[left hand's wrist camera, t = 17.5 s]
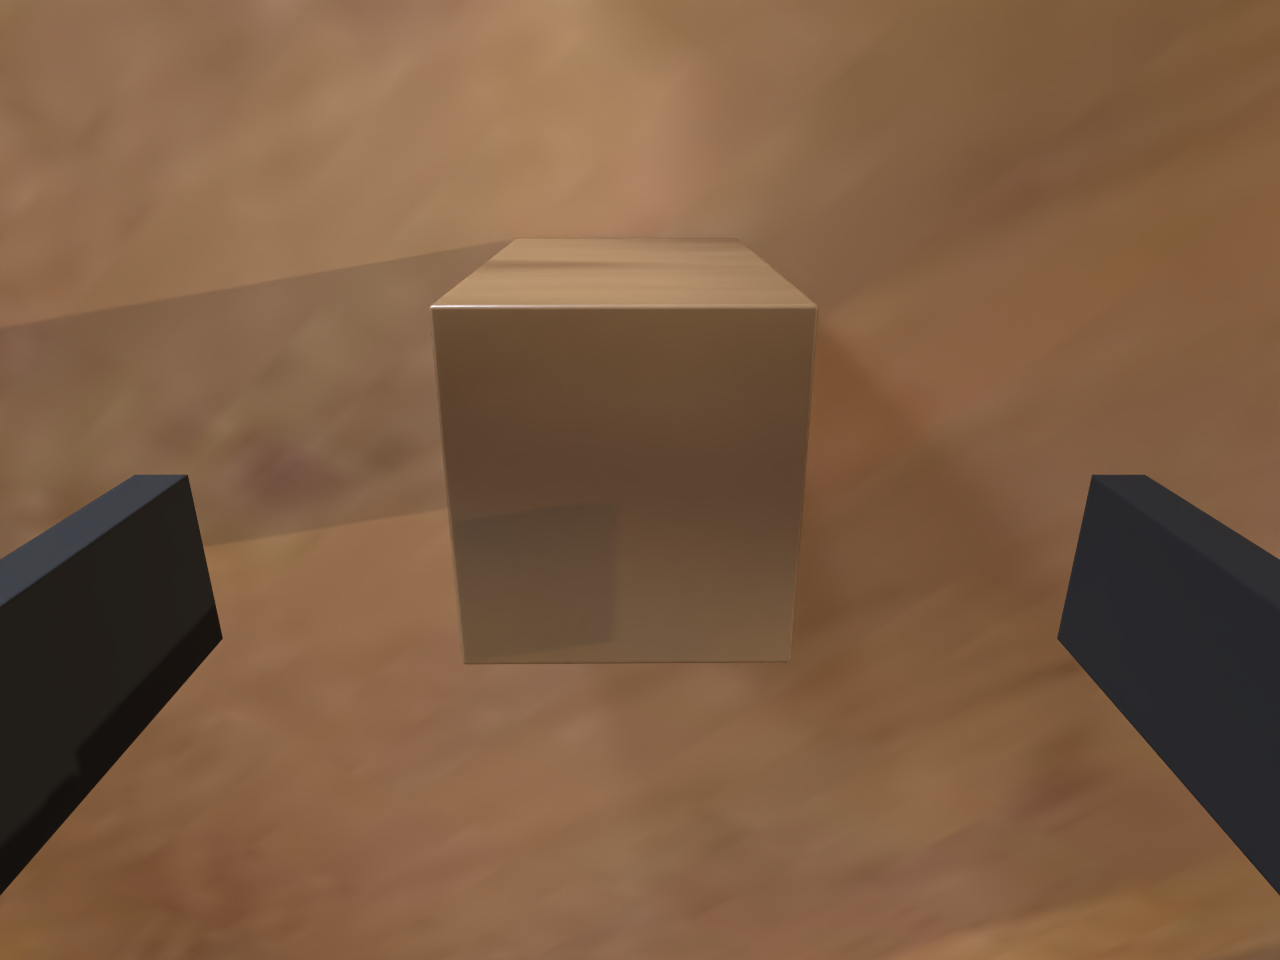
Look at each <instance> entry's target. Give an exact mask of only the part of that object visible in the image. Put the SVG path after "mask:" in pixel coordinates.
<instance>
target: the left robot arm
mask: <svg viewBox="0 0 1280 960" xmlns="http://www.w3.org/2000/svg"><path fill="white" fill-rule="evenodd" d="M222 639H223V638H222V633H221V628H220V624H219V619H218V614H217V610H216V605H215V600H214V596H213V591H212V586H211V581H210V577H209V572H208V567H207V563H206V558H205V553H204V549H203V544H202V539H201V535H200V530H199V525H198V521H197V516H196V511H195V506H194V502H193V497H192V492H191V488H190V483H189V478H188V475H134V476H132V477H131V478H129V479H128V480H126V481H125V482H123V483H121V484H120V485H118V486H117V487H115V488H113V489H112V490H110V491H109V492H107V493H105V494H104V495H102V496H101V497H99V498H98V499H96V500H94V501H93V502H91V503H90V504H88V505H86V506H85V507H83V508H82V509H80V510H78V511H77V512H75V513H74V514H72V515H71V516H69V517H67V518H66V519H64V520H63V521H61V522H59V523H58V524H56V525H55V526H53V527H51V528H50V529H48V530H47V531H45V532H44V533H42V534H40V535H39V536H37V537H36V538H34V539H32V540H31V541H29V542H28V543H26V544H24V545H23V546H21V547H20V548H18V549H17V550H15V551H13V552H12V553H10V554H9V555H7V556H5V557H4V558H2V559H1V560H0V895H1V894H2V893H3V892H4V890H5V889H6V888H7V887H8V886H9V885H10V884H11V882H12V881H13V880H14V879H15V878H16V877H17V875H18V874H19V873H20V872H21V871H22V870H23V869H24V867H25V866H26V865H27V864H28V863H29V862H30V860H31V859H32V858H33V857H34V856H35V855H36V854H37V852H38V851H39V850H40V849H41V848H42V847H43V845H44V844H45V843H46V842H47V841H48V840H49V839H50V837H51V836H52V835H53V834H54V833H55V832H56V830H57V829H58V828H59V827H60V826H61V825H62V824H63V822H64V821H65V820H66V819H67V818H68V817H69V815H70V814H71V813H72V812H73V811H74V810H75V808H76V807H77V806H78V805H79V804H80V803H81V802H82V800H83V799H84V798H85V797H86V796H87V795H88V793H89V792H90V791H91V790H92V789H93V788H94V787H95V785H96V784H97V783H98V782H99V781H100V780H101V778H102V777H103V776H104V775H105V774H106V773H107V772H108V770H109V769H110V768H111V767H112V766H113V765H114V763H115V762H116V761H117V760H118V759H119V758H120V757H121V755H122V754H123V753H124V752H125V751H126V750H127V748H128V747H129V746H130V745H131V744H132V743H133V742H134V740H135V739H136V738H137V737H138V736H139V735H140V733H141V732H142V731H143V730H144V729H145V728H146V727H147V725H148V724H149V723H150V722H151V721H152V720H153V718H154V717H155V716H156V715H157V714H158V713H159V712H160V710H161V709H162V708H163V707H164V706H165V705H166V703H167V702H168V701H169V700H170V699H171V698H172V697H173V695H174V694H175V693H176V692H177V691H178V690H179V688H180V687H181V686H182V685H183V684H184V683H185V682H186V680H187V679H188V678H189V677H190V676H191V675H192V673H193V672H194V671H195V670H196V669H197V668H198V667H199V665H200V664H201V663H202V662H203V661H204V660H205V658H206V657H207V656H208V655H209V654H210V653H211V651H212V650H213V649H214V648H215V647H216V646H217V645H218V643H219V642H220V641H221V640H222ZM1057 639H1058V640H1059V641H1060V642H1061V643H1062V645H1063V646H1064V647H1065V648H1066V649H1067V650H1068V651H1069V653H1070V654H1071V655H1072V656H1073V657H1074V658H1075V660H1076V661H1077V662H1078V663H1079V664H1080V665H1081V667H1082V668H1083V669H1084V670H1085V671H1086V672H1087V673H1088V675H1089V676H1090V677H1091V678H1092V679H1093V680H1094V682H1095V683H1096V684H1097V685H1098V686H1099V687H1100V688H1101V690H1102V691H1103V692H1104V693H1105V694H1106V695H1107V697H1108V698H1109V699H1110V700H1111V701H1112V702H1113V703H1114V705H1115V706H1116V707H1117V708H1118V709H1119V710H1120V712H1121V713H1122V714H1123V715H1124V716H1125V717H1126V718H1127V720H1128V721H1129V722H1130V723H1131V724H1132V725H1133V727H1134V728H1135V729H1136V730H1137V731H1138V732H1139V733H1140V735H1141V736H1142V737H1143V738H1144V739H1145V740H1146V742H1147V743H1148V744H1149V745H1150V746H1151V747H1152V748H1153V750H1154V751H1155V752H1156V753H1157V754H1158V755H1159V757H1160V758H1161V759H1162V760H1163V761H1164V762H1165V763H1166V765H1167V766H1168V767H1169V768H1170V769H1171V770H1172V772H1173V773H1174V774H1175V775H1176V776H1177V777H1178V778H1179V780H1180V781H1181V782H1182V783H1183V784H1184V785H1185V787H1186V788H1187V789H1188V790H1189V791H1190V792H1191V793H1192V795H1193V796H1194V797H1195V798H1196V799H1197V800H1198V802H1199V803H1200V804H1201V805H1202V806H1203V807H1204V808H1205V810H1206V811H1207V812H1208V813H1209V814H1210V815H1211V817H1212V818H1213V819H1214V820H1215V821H1216V822H1217V824H1218V825H1219V826H1220V827H1221V828H1222V829H1223V830H1224V832H1225V833H1226V834H1227V835H1228V836H1229V837H1230V839H1231V840H1232V841H1233V842H1234V843H1235V844H1236V845H1237V847H1238V848H1239V849H1240V850H1241V851H1242V852H1243V854H1244V855H1245V856H1246V857H1247V858H1248V859H1249V860H1250V862H1251V863H1252V864H1253V865H1254V866H1255V867H1256V869H1257V870H1258V871H1259V872H1260V873H1261V874H1262V875H1263V877H1264V878H1265V879H1266V880H1267V881H1268V882H1269V884H1270V885H1271V886H1272V887H1273V888H1274V889H1275V890H1276V892H1277V893H1278V894H1279V895H1280V560H1279V559H1278V558H1276V557H1275V556H1273V555H1271V554H1270V553H1268V552H1267V551H1265V550H1263V549H1262V548H1260V547H1259V546H1257V545H1256V544H1254V543H1252V542H1251V541H1249V540H1248V539H1246V538H1244V537H1243V536H1241V535H1240V534H1238V533H1236V532H1235V531H1233V530H1232V529H1230V528H1229V527H1227V526H1225V525H1224V524H1222V523H1221V522H1219V521H1217V520H1216V519H1214V518H1213V517H1211V516H1209V515H1208V514H1206V513H1205V512H1203V511H1202V510H1200V509H1198V508H1197V507H1195V506H1194V505H1192V504H1190V503H1189V502H1187V501H1186V500H1184V499H1182V498H1181V497H1179V496H1178V495H1176V494H1175V493H1173V492H1171V491H1170V490H1168V489H1167V488H1165V487H1163V486H1162V485H1160V484H1159V483H1157V482H1155V481H1154V480H1152V479H1151V478H1149V477H1148V476H1146V475H1092V478H1091V483H1090V488H1089V492H1088V497H1087V502H1086V507H1085V511H1084V516H1083V521H1082V525H1081V530H1080V535H1079V539H1078V544H1077V549H1076V553H1075V558H1074V563H1073V567H1072V572H1071V577H1070V581H1069V586H1068V591H1067V596H1066V600H1065V605H1064V610H1063V614H1062V619H1061V624H1060V628H1059V633H1058V638H1057Z"/></svg>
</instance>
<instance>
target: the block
mask: <svg viewBox="0 0 1280 960" xmlns="http://www.w3.org/2000/svg"><path fill="white" fill-rule="evenodd" d="M429 312H430V322H431V333H432V343H433V354H434V365H435V375H436V386H437V397H438V407H439V418H440V428H441V439H442V450H443V460H444V471H445V482H446V492H447V503H448V513H449V524H450V535H451V545H452V556H453V566H454V577H455V588H456V598H457V609H458V620H459V630H460V641H461V651H462V661H463V663H464V664H585V663H744V662H789V661H790V658H791V647H792V635H793V622H794V610H795V597H796V585H797V572H798V560H799V547H800V534H801V522H802V509H803V497H804V484H805V472H806V459H807V446H808V434H809V421H810V409H811V396H812V384H813V371H814V359H815V346H816V333H817V321H818V305H817V304H816V303H814V302H813V301H812V300H811V299H810V298H808V297H807V296H806V295H805V294H804V293H802V292H801V291H800V290H799V289H798V288H796V287H795V286H794V285H793V284H792V283H790V282H789V281H788V280H787V279H786V278H784V277H783V276H782V275H781V274H780V273H778V272H777V271H776V270H775V269H773V268H772V267H771V266H770V265H769V264H767V263H766V262H765V261H764V260H763V259H761V258H760V257H759V256H758V255H757V254H755V253H754V252H753V251H752V250H751V249H749V248H748V247H747V246H746V245H745V244H743V243H742V242H741V241H740V240H739V239H736V238H683V239H515V240H514V241H513V242H511V243H510V244H509V245H508V246H506V247H505V248H504V249H502V250H501V251H500V252H499V253H497V254H496V255H495V256H493V257H492V258H491V259H490V260H488V261H487V262H486V263H484V264H483V265H482V266H481V267H479V268H478V269H477V270H475V271H474V272H473V273H472V274H470V275H469V276H468V277H467V278H465V279H464V280H463V281H461V282H460V283H459V284H458V285H456V286H455V287H454V288H452V289H451V290H450V291H449V292H447V293H446V294H445V295H443V296H442V297H441V298H440V299H438V300H437V301H436V302H434V303H433V304H432V305H431V306H430V308H429Z"/></svg>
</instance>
